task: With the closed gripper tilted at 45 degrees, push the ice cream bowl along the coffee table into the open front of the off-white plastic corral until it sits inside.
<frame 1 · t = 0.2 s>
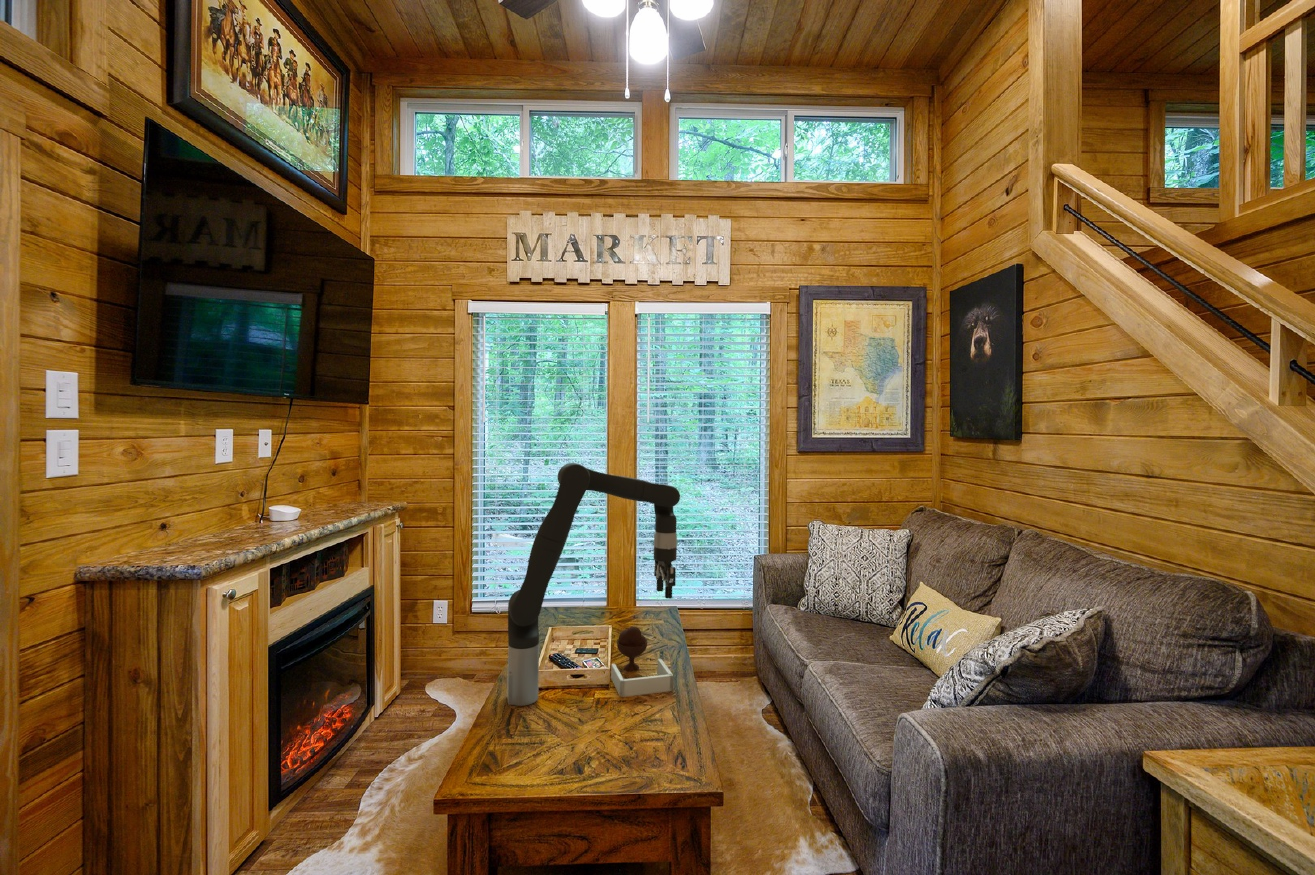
hand: (664, 594, 193), 29 cm above the table, tool pointing down, fingers open, 8 cm apart
ice cream bowl: (631, 668, 205), on the table
corral: (641, 684, 192), on the table
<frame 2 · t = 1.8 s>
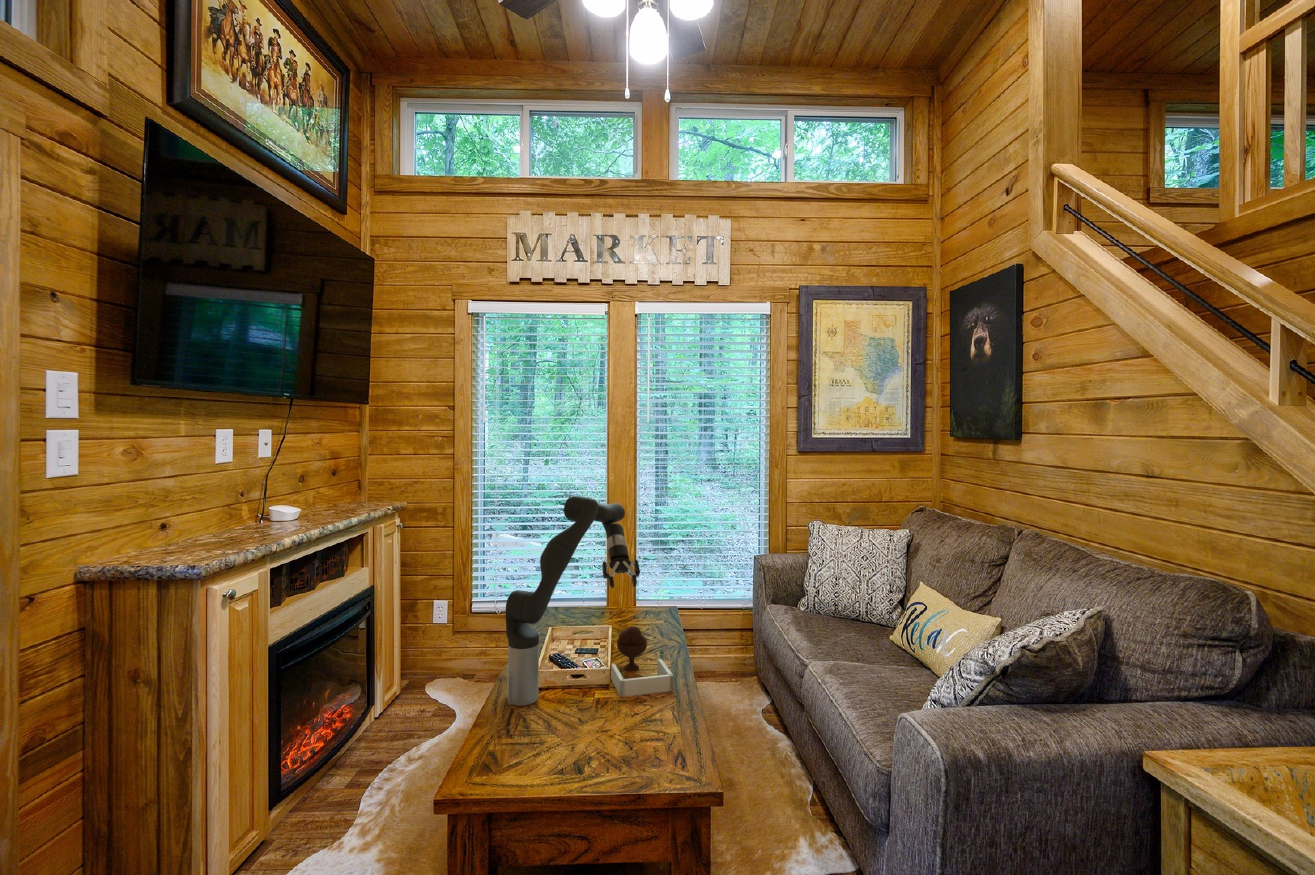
hand: (623, 586, 218), 25 cm above the table, tool tilted 45°, fingers open, 7 cm apart
nothing on the table moved.
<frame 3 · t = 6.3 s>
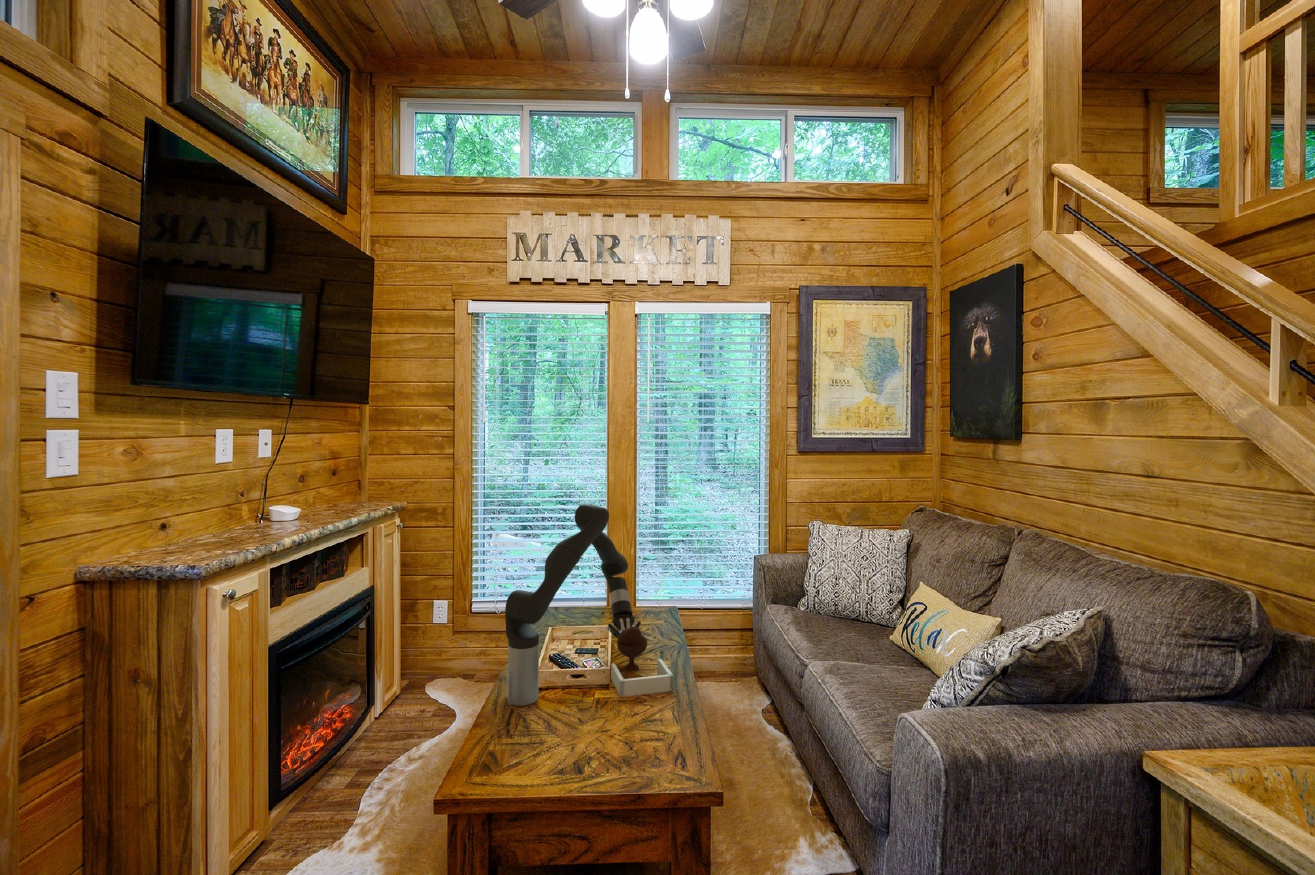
hand: (627, 648, 210), 5 cm above the table, tool tilted 45°, fingers closed
ice cream bowl: (631, 668, 205), on the table, touching gripper
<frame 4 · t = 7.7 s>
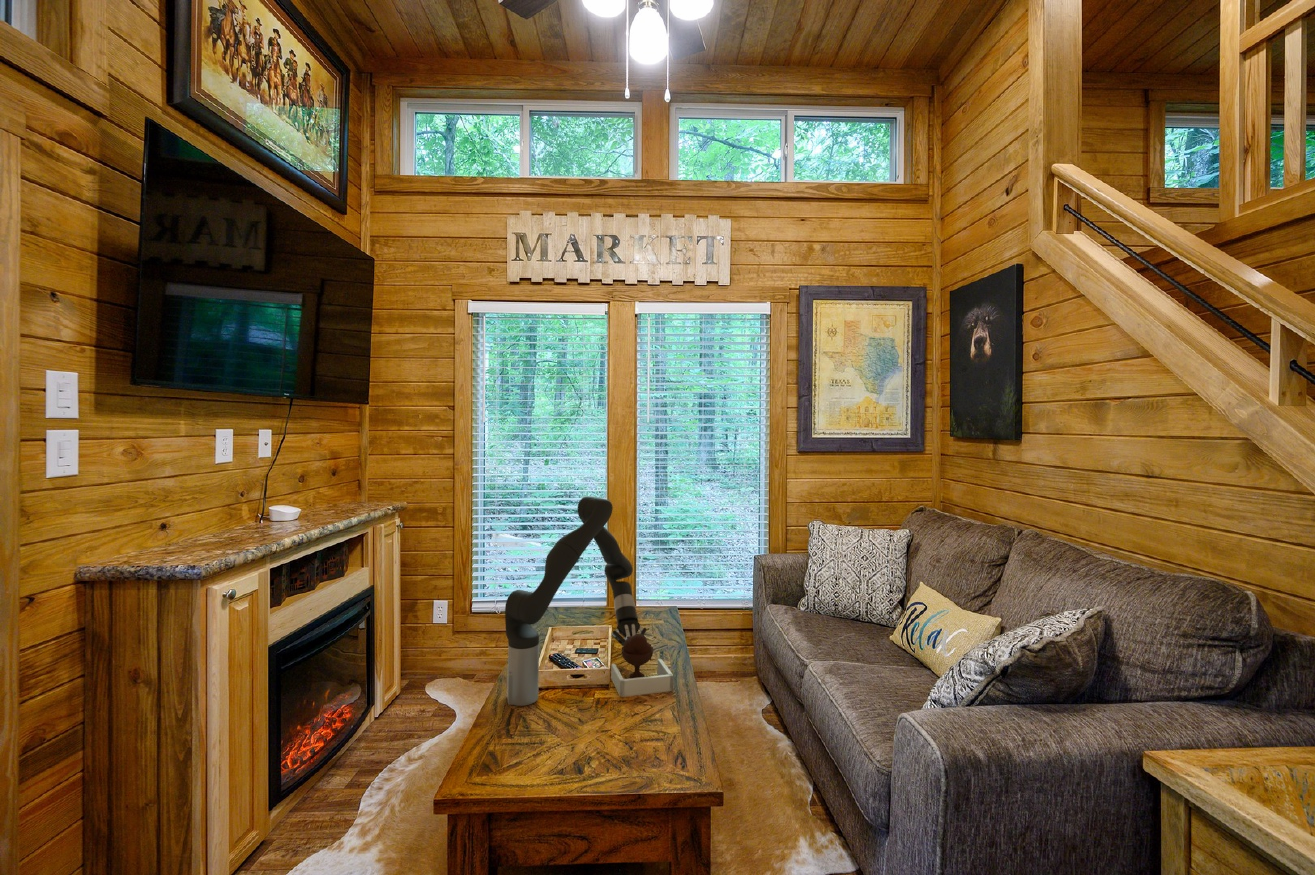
hand: (633, 656, 203), 5 cm above the table, tool tilted 45°, fingers closed
ice cream bowl: (636, 677, 198), on the table, touching gripper
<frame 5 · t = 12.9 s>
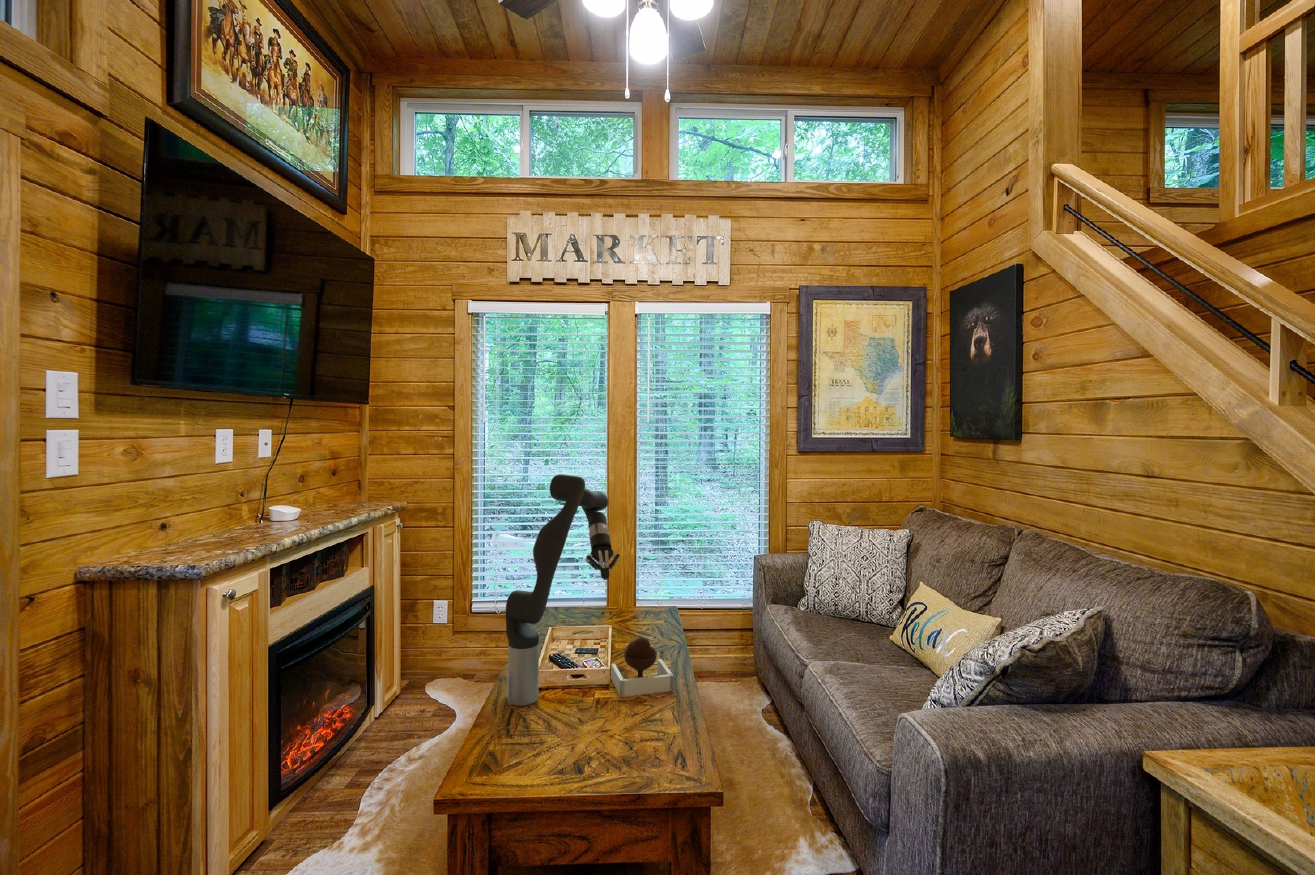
hand: (605, 578, 209), 30 cm above the table, tool tilted 45°, fingers closed
ice cream bowl: (640, 682, 194), on the table
at the end: ice cream bowl 0.9 cm from the target spot on the corral, point 0.0 cm above the corral's base; ice cream bowl tilted 0° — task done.
